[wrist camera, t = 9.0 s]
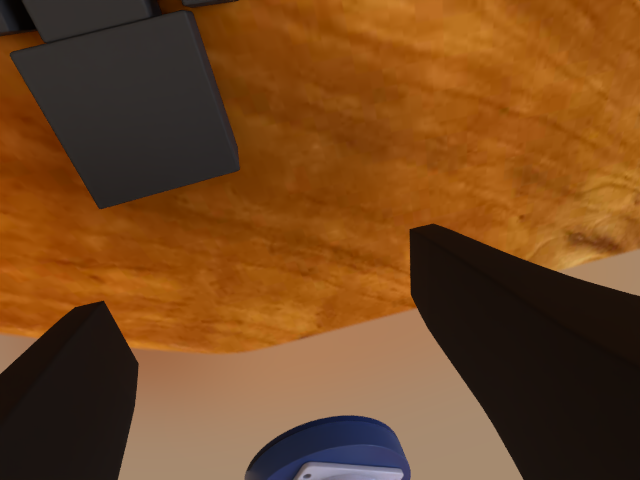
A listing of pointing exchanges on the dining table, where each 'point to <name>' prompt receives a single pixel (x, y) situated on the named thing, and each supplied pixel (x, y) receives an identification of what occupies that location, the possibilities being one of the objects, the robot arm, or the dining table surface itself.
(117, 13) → the pad
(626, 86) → the dining table surface
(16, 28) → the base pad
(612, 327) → the robot arm
